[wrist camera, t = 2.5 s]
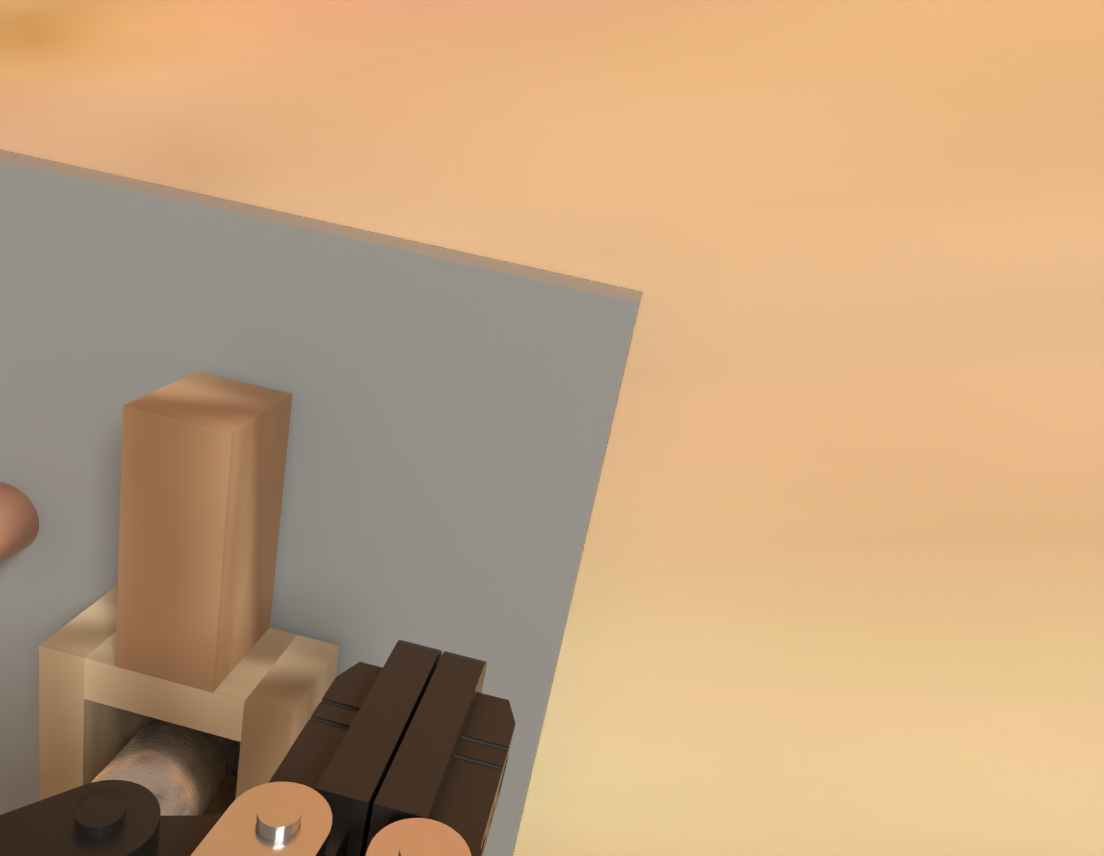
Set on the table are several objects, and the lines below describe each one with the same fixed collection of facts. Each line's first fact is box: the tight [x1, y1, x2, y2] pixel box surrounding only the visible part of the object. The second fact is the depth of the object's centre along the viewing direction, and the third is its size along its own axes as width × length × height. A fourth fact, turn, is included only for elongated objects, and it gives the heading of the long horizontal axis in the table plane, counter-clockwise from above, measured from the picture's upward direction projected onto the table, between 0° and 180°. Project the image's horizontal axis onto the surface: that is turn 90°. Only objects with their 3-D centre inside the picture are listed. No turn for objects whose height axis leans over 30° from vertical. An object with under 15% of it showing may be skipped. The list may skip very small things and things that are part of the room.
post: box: [91, 718, 241, 816], centre depth 22 cm, size 3×3×6 cm
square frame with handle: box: [39, 371, 340, 815], centre depth 23 cm, size 6×13×3 cm, turn 169°
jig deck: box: [0, 150, 642, 856], centre depth 26 cm, size 18×28×2 cm, turn 169°
